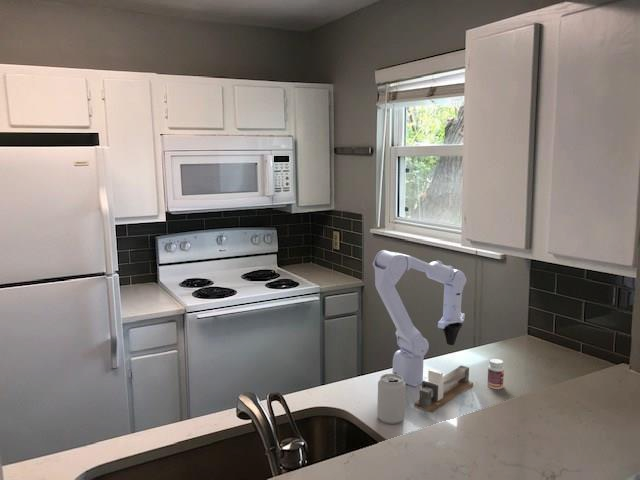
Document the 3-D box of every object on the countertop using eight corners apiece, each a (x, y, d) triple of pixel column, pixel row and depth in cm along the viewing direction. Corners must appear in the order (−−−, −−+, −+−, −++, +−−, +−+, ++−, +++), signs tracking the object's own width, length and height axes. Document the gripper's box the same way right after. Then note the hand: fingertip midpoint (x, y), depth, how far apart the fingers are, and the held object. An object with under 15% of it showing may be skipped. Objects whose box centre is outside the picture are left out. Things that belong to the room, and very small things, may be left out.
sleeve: (423, 396, 156) (424, 371, 155) (428, 392, 158) (429, 368, 157) (437, 401, 153) (438, 376, 152) (442, 397, 155) (443, 373, 154)
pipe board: (414, 405, 154) (414, 388, 153) (455, 379, 172) (456, 364, 171) (432, 412, 150) (432, 394, 149) (473, 385, 168) (473, 368, 167)
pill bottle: (504, 390, 165) (505, 364, 163) (488, 388, 166) (489, 363, 164) (502, 383, 169) (503, 358, 168) (486, 382, 170) (487, 357, 169)
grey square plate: (421, 397, 155) (422, 381, 155) (423, 396, 156) (423, 380, 155) (435, 402, 152) (436, 386, 151) (437, 401, 153) (438, 385, 152)
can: (386, 427, 141) (387, 385, 139) (372, 415, 148) (373, 374, 146) (409, 422, 144) (411, 380, 142) (395, 410, 151) (396, 370, 149)
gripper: (452, 311, 167) (450, 352, 169) (473, 302, 177) (471, 341, 179) (432, 307, 171) (431, 347, 173) (454, 298, 182) (453, 336, 184)
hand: (450, 344), depth 177 cm, fingers closed
